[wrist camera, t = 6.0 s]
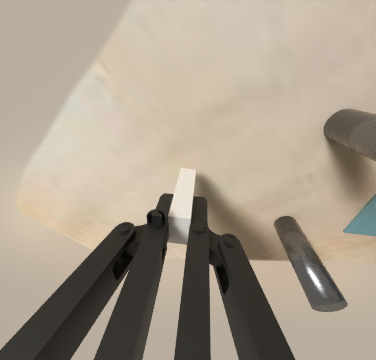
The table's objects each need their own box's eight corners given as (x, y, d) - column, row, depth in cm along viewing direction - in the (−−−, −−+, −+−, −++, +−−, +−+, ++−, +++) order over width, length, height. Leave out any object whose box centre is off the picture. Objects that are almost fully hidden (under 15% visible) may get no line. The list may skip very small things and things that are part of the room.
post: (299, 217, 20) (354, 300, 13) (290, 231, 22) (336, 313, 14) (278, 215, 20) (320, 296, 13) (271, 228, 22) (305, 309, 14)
